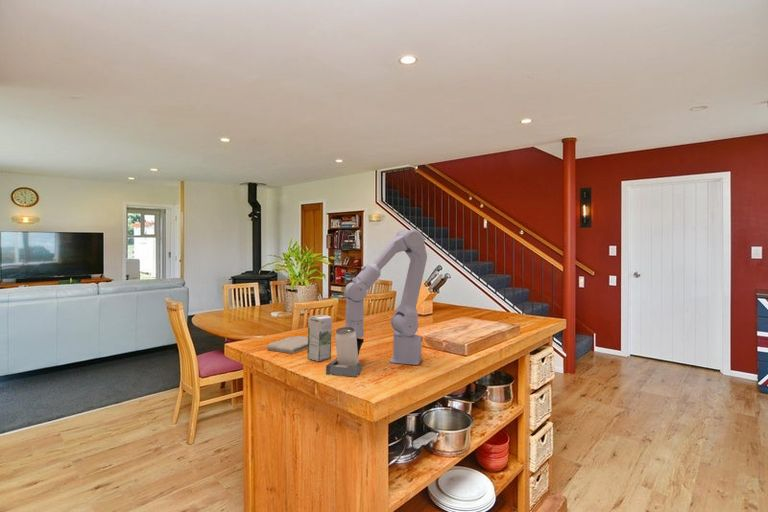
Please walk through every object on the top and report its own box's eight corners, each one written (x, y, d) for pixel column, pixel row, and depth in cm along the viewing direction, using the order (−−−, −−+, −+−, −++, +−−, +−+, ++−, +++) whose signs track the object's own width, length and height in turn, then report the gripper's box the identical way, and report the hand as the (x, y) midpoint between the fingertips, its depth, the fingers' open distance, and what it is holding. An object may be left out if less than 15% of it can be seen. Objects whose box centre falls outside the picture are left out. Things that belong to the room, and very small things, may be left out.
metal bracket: (373, 359, 134) (373, 350, 134) (356, 377, 115) (356, 367, 115) (347, 356, 136) (347, 348, 136) (326, 374, 117) (326, 364, 117)
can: (355, 371, 119) (351, 335, 116) (335, 370, 121) (331, 334, 118) (361, 361, 125) (358, 326, 123) (342, 360, 127) (338, 325, 124)
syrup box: (319, 355, 137) (320, 314, 137) (331, 358, 133) (332, 316, 133) (307, 358, 133) (307, 316, 132) (318, 362, 129) (319, 318, 129)
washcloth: (321, 344, 154) (322, 337, 154) (292, 355, 138) (292, 347, 137) (297, 341, 159) (297, 333, 159) (266, 351, 143) (266, 343, 143)
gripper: (350, 315, 134) (349, 354, 134) (334, 323, 120) (333, 367, 120) (369, 316, 132) (369, 356, 132) (356, 324, 118) (355, 369, 118)
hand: (353, 361), depth 126 cm, fingers closed, pressing on can
